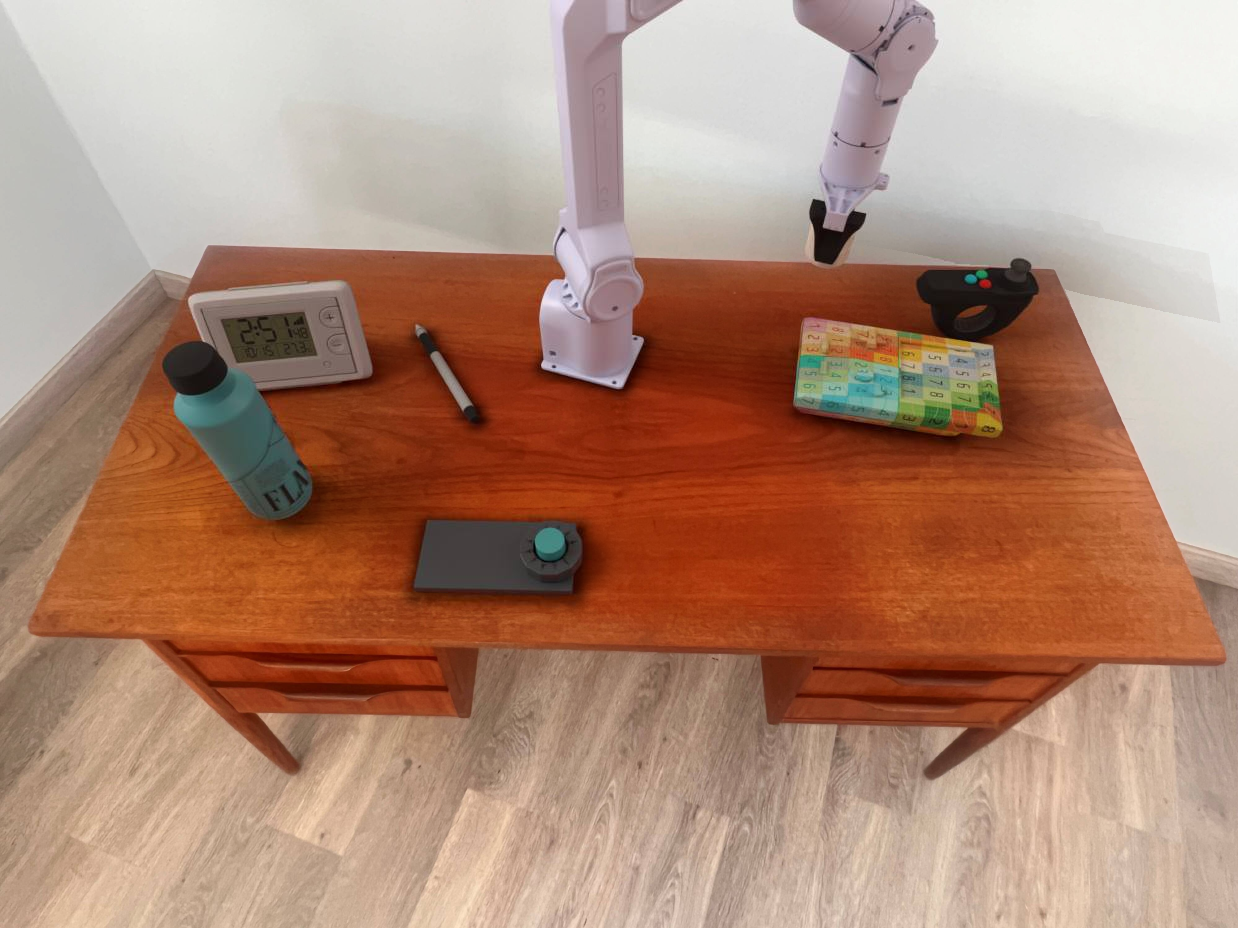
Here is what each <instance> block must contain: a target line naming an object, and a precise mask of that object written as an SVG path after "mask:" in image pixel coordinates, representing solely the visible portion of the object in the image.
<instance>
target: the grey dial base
mask: <svg viewBox="0 0 1238 928" xmlns="http://www.w3.org/2000/svg"><path fill="white" fill-rule="evenodd" d="M546 528H555V529H558V530H559V531H561V532H562V534H563V535H564V538H565V547H566V549H565V553H564V554H563V556H562V557H561V558H560V559H558V560H556V561H545V560H543V559H541V558H540V557H539V556H538V554H537V551H536V545H535V538H536V536H537V534H538V533H539V532H540V531H541V530H543V529H546ZM583 551H584V548H583V540H582V537H581V536H580V535H579V533H578V531H577V523H576V522H565V521H563V520H543V521H501V520H499V521H496V520H494V521H493V520H492V521H491V520H454V519H453V520H452V519H451V520H449V519H446V520H445V519H444V520H443V519H427V520H426V524H425V529H424V534H423V538H422V543H421V549H420V554H419V559H418V563H417V569H416V574H415V579H414V583H413V589H414V592H416V593H452V594H459V593H460V594H497V595H499V594H501V595H503V594H504V595H544V596H545V595H546V596H552V595H553V596H572V595H573V592H574V591H573V590H574V575H575V573H576V572H577V571H578V569H579V568H580V566H581V565H582V563H583Z"/></svg>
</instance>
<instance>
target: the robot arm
mask: <svg viewBox="0 0 1238 928" xmlns="http://www.w3.org/2000/svg"><path fill="white" fill-rule="evenodd" d="M682 1H684V0H549V9H548V11H549V14H548V15H549V24H550V25H549V26H550V34H551V35H550V36H551V46H552V47H551V49H552V59H553V70H554V81H555V92H556V93H555V95H556V105H557V113H558V114H557V115H558V116H557V117H558V126H559V139H560V148H561V149H560V150H561V151H560V152H561V159H562V160H561V161H562V171H563V172H562V173H563V183H564V185H563V186H564V193H565V194H564V195H565V207H563V208H562V209H560V210H559V211H558V228H557V230H556V233H555V236H554V238H553V241H552V253H553V257H554V258H555V260H556V261H557V263H558V264H559V265H560V267H561V268H562V270H563V272H564V274H565V276H564V279H560V278H555V279H552V280H551V281H550V282H549V283H548V285H547V287H546V289H545V291H544V293H543V296H542V298H541V303H540V309H539V318H538V319H539V330H540V332H539V333H540V339H541V348H542V355H543V356H542V357H543V360H542V362H541V364H540V366H541V369H542V370H544V371H548V372H552V373H556V374H559V375H562V376H567V377H570V378H573V379H578V380H582V381H585V382H589V383H593V384H595V385H596V384H597V385H600V386H605V387H608V388H612V389H615V390H621V389H623V388H624V386H625V384H626V382H627V380H628V378H629V375H630V373H631V371H632V368H633V367H634V364H635V362H636V361H637V358H638V356H639V353H640V351H641V349H642V347H643V345H644V341H645V339H644V338H643V337H642V336H639V335H635V334H634V335H633V321H634V320H633V318H634V317H633V316H634V315H633V313H634V312H633V311H634V309H635V308H636V307H637V306H638V305H639V303H640V302H641V300H642V297H643V294H644V289H645V287H644V281H643V278H642V276H641V275H640V274H639V272H638V271H637V269H636V266H635V253H634V249H633V246H632V243H631V240H630V235H629V233H628V229H627V225H626V222H625V179H624V177H625V176H624V175H625V172H624V171H625V169H624V107H623V106H624V104H623V103H624V102H623V101H624V98H623V97H624V96H623V92H624V91H623V43H624V40H625V39H626V38H627V37H628V36H629V35H631V34H632V33H634V32H635V31H638V30H639V29H640V28H642V27H644V26H645V25H647V24H649V23H650V22H651V21H653V20H655V19H656V18H658V17H659V16H661V15H662V14H664V13H665V12H667V11H669V10H670V9H672V8H674V7H675V6H677V5H678V4H680V3H682ZM792 11H793V14H794V18H795V20H796V21H797V23H798V24H799V25H801V26H802V27H804V28H805V29H808V30H809V31H811V32H813V33H814V34H816V35H818V36H820V37H821V38H823V39H825V40H826V41H828V42H830V43H831V44H833V45H834V46H836V47H838V48H840V49H841V50H843V51H844V52H846V53H848V54H849V55H848V59H847V62H846V63H847V64H846V67H845V71H844V75H843V80H842V83H841V87H840V91H839V96H838V100H837V103H836V107H835V112H834V115H833V119H832V123H831V126H830V131H829V134H828V138H827V143H826V146H825V151H824V155H823V159H822V161H821V163H820V164H819V167H818V171H817V180H818V183H819V187H820V190H821V194H822V197H823V198H822V199H823V200H821V199H816V198H812V200H811V203H810V207H809V209H808V217H809V221H810V223H812V225H813V229H814V261H816V262H821V263H825V264H830V265H833V263H834V262H835V261H836V259H837V258H838V256H839V254H840V252H841V251H842V249H843V247H844V245H845V244H846V242H847V241H848V239H849V238H850V237H851V236H852V235H853V234H854V233H855V232H856V233H857V232H858V231H859V230H861V228H862V227H863V226H864V224H865V222H866V218H867V213H866V212H861V211H857V210H856V208H857V207H858V206H859V205H860V204H861V203H862V202H864V200H865V199H866V198H868V197H869V196H870V195H871V194H872V193H873V192H874V191H886V190H887V189H888V186H889V184H890V183H889V182H890V175H889V174H888V173H885V172H881V168H882V165H883V163H884V160H885V156H886V153H887V150H888V147H889V144H890V140H891V137H892V135H893V132H894V128H895V126H896V123H897V119H898V116H899V113H900V110H901V107H902V104H903V100H904V97H905V96H907V94H908V93H909V91H910V90H912V88H913V85H914V82H915V80H916V77H917V75H918V73H919V72H920V70H921V69H922V68H923V67H924V66H925V65H926V64H927V63H928V61H929V60H930V59H931V57H932V56H933V55H934V52H935V50H936V49H937V46H938V44H939V39H937V38H936V23H935V21H934V20H935V16H934V14H933V12H932V10H930V9H929V8H927V7H926V6H925V5H923V4H922V3H921V2H919V1H918V0H792ZM856 233H855V234H856Z"/></svg>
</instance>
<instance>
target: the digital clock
mask: <svg viewBox="0 0 1238 928" xmlns="http://www.w3.org/2000/svg"><path fill="white" fill-rule="evenodd" d="M187 304H188V308H189V310H190V313H191V315H192V318H193V321H194V323H195V326H196V328H197V331H198V333H199V336H200V338H201V341H203V342H206V343H208V344H210V345H211V346H213V347H214V348H215V350H216V351H217V352H218V354H219V355H220V356H221V357H222V358H223V359H224V361H225V362H226V364H227V367H228V368H234V369H238V370H241V371H243V372H245V373H246V374H248V375H249V376H250V377H251V378H252V380H253V381H254V383H255V386H256V388H257V390H258V391H259V392H262V391H271V390H272V391H274V390H283V389H284V390H285V389H295V388H305V387H313V386H315V387H316V386H325V385H334V384H342V383H343V382H347V381H356V380H365V379H368V378H370V377H372V375H373V364H372V359H371V356H370V351H369V349H368V344H367V341H366V336H365V333H364V329H363V326H362V321H361V318H360V314H359V310H358V306H357V302H356V298H355V295H354V292H353V289H352V286H351V284H349V282H348V281H345V280H341V279H335V280H323V281H311V282H310V281H309V280H306V281H294V282H293V281H292V282H284V283H283V282H282V283H281V282H280V283H272V284H259V285H248V286H238V287H237V286H236V287H229V288H228V289H221V290H209V291H201V292H196V293H194V294H191V295H190V296H189V297H188V299H187Z"/></svg>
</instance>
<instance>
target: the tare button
mask: <svg viewBox="0 0 1238 928" xmlns="http://www.w3.org/2000/svg"><path fill="white" fill-rule="evenodd" d="M535 545H536V551H537V554H538V556H539V557H540V558H541V559H543V560H545V561H556V560H558V559H560V558H561V557H562V556H563V554H564V553H565V549H566V547H565V538H564V535H563V534H562V532H561V531H559V530H558V529H555V528H546V529H543V530H541V531H540V532H539V533H538V534H537V536H536V538H535Z"/></svg>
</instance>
